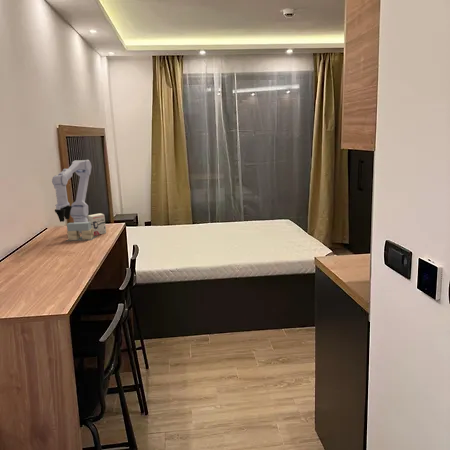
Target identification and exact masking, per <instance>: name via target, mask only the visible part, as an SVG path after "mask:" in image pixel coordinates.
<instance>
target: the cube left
mask: <svg viewBox="0 0 450 450" xmlns="http://www.w3.org/2000/svg"><path fill="white" fill-rule="evenodd" d="M66 233H67V240H78V239H79V238H80V236H81V233H80V231H66Z"/></svg>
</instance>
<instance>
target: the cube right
mask: <svg viewBox="0 0 450 450" xmlns="http://www.w3.org/2000/svg"><path fill="white" fill-rule="evenodd" d="M81 232H82V233H81V236H82V240H84V239H92V238H94V236H95V235H94V231H93V228H92V229H90V230H84V231H81ZM94 239H95V238H94Z"/></svg>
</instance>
